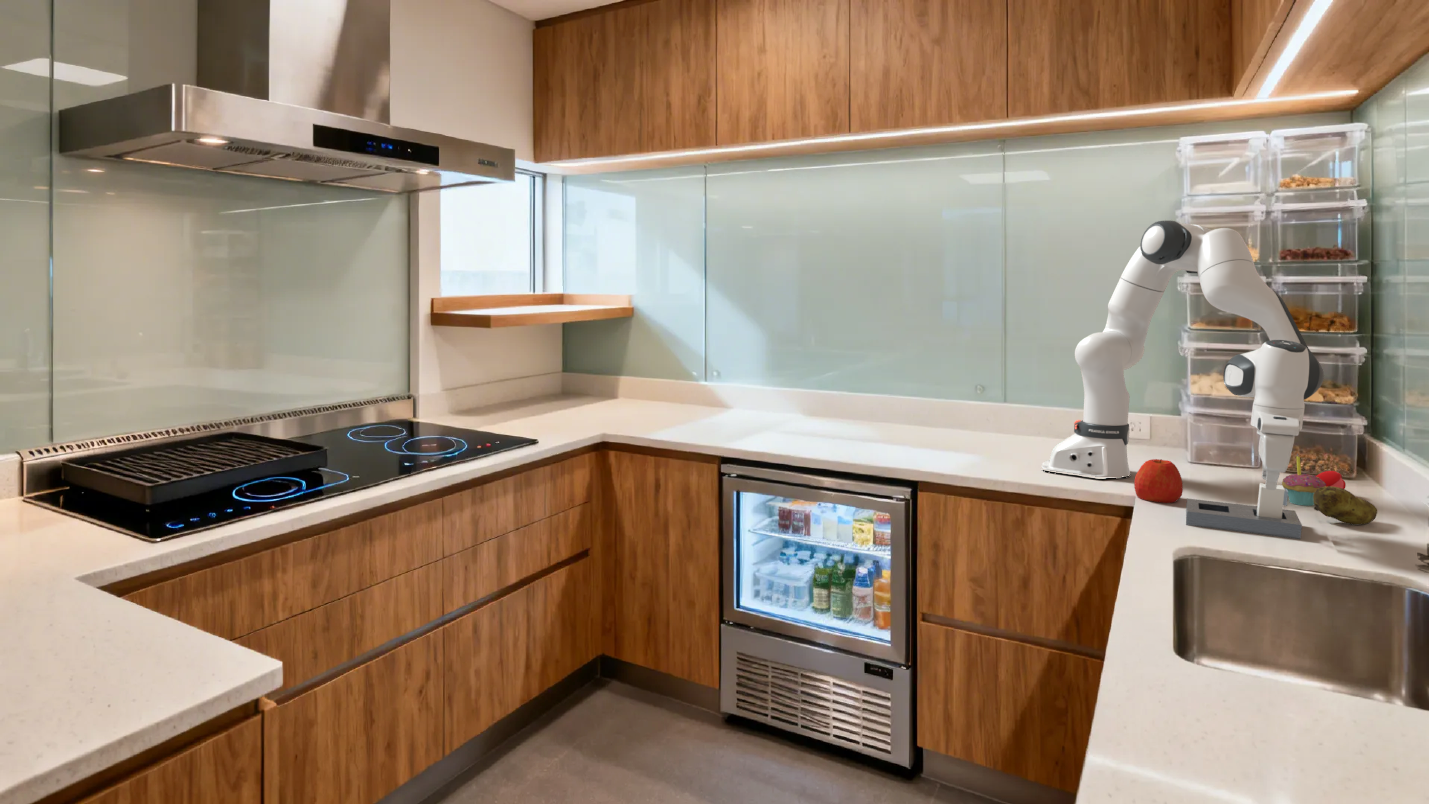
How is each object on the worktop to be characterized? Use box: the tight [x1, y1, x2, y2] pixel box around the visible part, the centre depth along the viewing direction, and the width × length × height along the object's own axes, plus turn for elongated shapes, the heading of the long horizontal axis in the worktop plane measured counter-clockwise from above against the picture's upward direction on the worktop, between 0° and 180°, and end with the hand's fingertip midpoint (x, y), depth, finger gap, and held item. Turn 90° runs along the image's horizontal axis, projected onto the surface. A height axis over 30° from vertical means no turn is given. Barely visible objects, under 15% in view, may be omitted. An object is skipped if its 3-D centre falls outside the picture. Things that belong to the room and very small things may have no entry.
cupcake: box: [1281, 453, 1326, 507], centre depth 191 cm, size 9×8×12 cm
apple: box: [1134, 458, 1184, 504], centre depth 193 cm, size 10×10×10 cm
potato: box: [1313, 486, 1378, 526], centre depth 176 cm, size 8×13×8 cm, turn 74°
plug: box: [1257, 482, 1289, 519], centre depth 170 cm, size 5×4×9 cm
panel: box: [1185, 498, 1303, 541], centre depth 173 cm, size 20×12×4 cm, turn 60°
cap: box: [1315, 470, 1347, 490], centre depth 199 cm, size 8×6×6 cm
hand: (1268, 484), depth 169 cm, fingers open, 8 cm apart
